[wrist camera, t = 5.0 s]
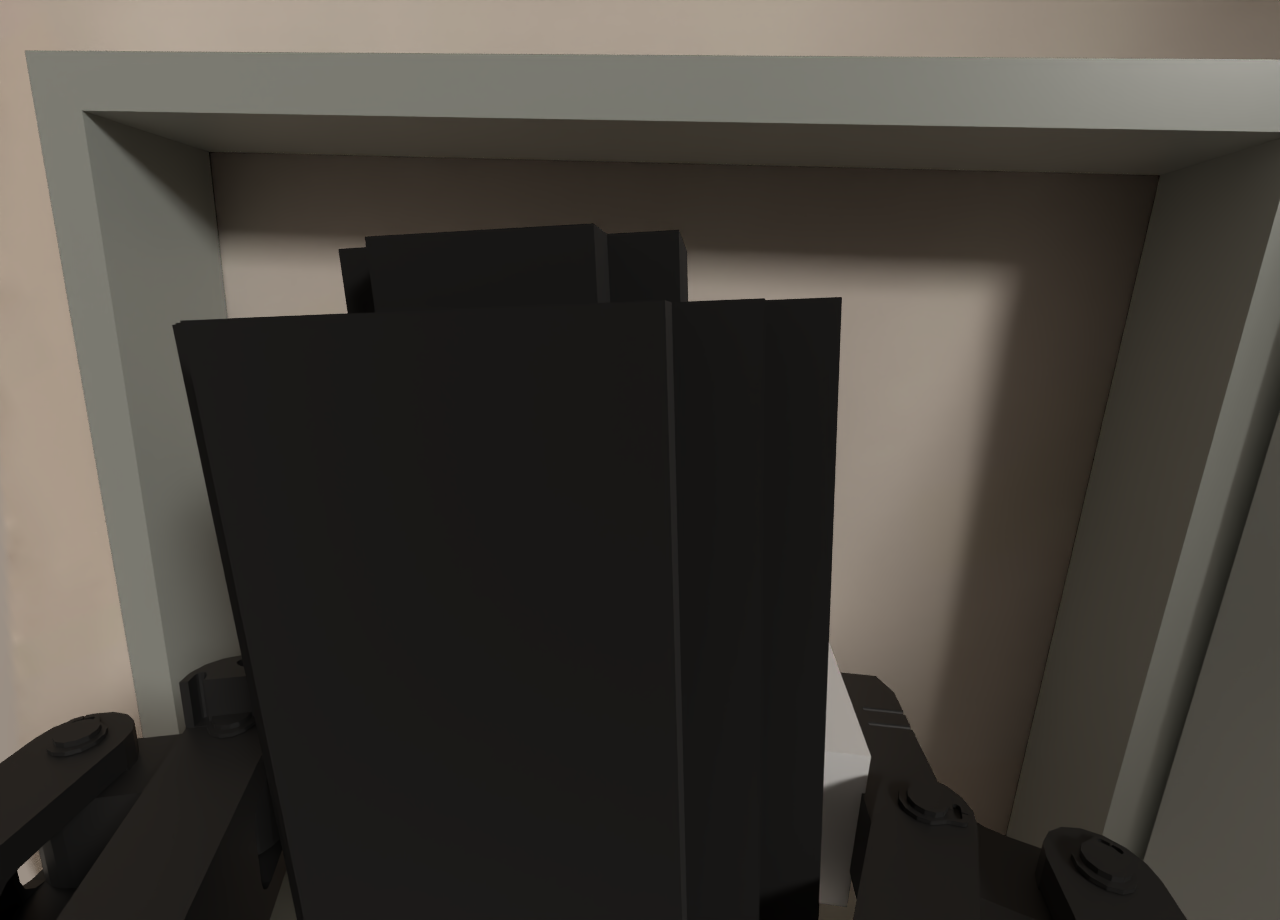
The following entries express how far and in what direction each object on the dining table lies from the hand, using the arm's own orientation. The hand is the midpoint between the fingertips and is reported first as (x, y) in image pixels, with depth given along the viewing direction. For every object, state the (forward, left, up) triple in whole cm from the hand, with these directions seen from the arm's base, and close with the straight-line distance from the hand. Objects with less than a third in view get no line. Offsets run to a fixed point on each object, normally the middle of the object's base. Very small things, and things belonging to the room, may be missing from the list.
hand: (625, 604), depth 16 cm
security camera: (+1, 0, 0) cm, 1 cm away
